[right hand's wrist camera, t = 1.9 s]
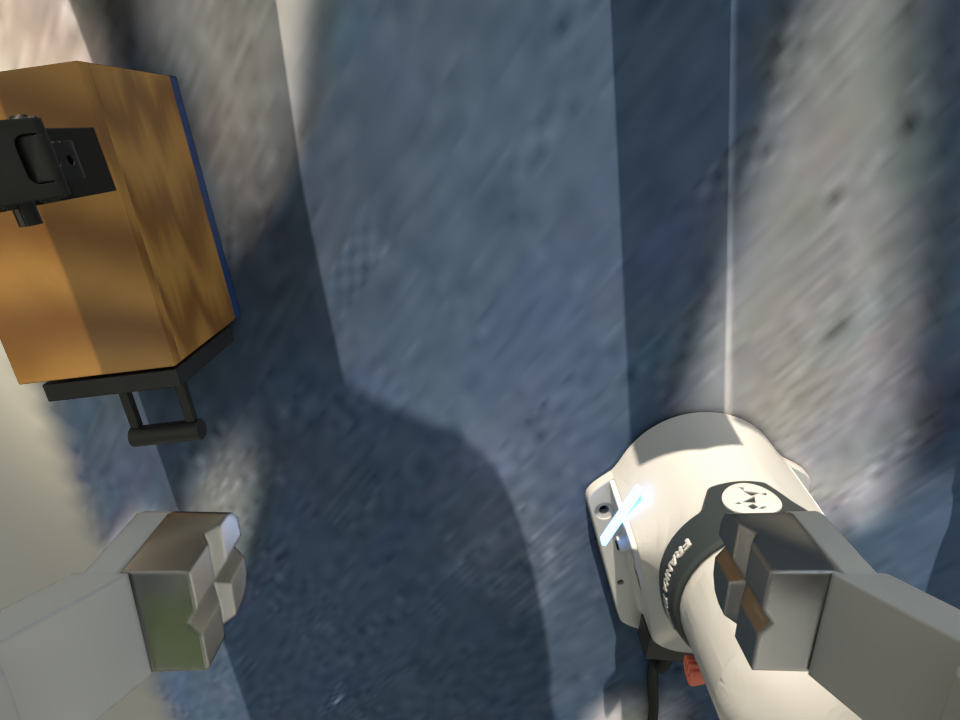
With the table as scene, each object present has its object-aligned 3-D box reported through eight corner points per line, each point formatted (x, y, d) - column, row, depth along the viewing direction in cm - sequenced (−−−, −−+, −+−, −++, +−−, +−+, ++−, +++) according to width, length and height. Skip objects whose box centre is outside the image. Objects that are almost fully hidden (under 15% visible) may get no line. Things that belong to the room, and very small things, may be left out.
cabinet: (240, 315, 48) (175, 366, 38) (116, 330, 49) (18, 385, 38) (175, 76, 42) (77, 60, 32) (35, 96, 43) (-107, 86, 33)
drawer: (252, 406, 50) (205, 463, 42) (147, 418, 50) (79, 478, 42) (173, 123, 43) (96, 122, 34) (50, 140, 43) (-57, 143, 34)
